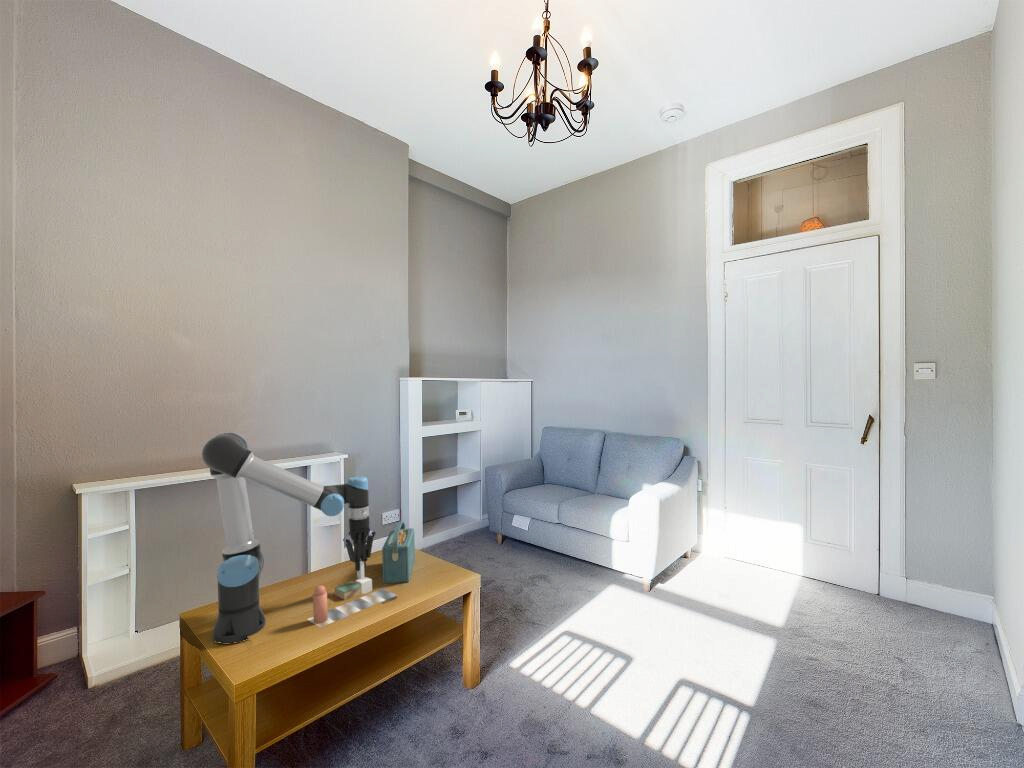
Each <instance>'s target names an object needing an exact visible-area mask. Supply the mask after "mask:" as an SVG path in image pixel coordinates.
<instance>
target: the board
mask: <svg viewBox="0 0 1024 768" xmlns="http://www.w3.org/2000/svg"><path fill="white" fill-rule="evenodd" d="M396 599H398V594H395V593H394V592H391V591H389V590H387V589H385V588H381V589H379V590H376V591H372V592H370V593H367V595H364V596H361V597H359V598H356V599H353V600H351V601H349V602H346V603H344V604H342V605H339V606H336V607H334V608H331V609H329V610H328V609H327V611H328V620H327V621H325V622H323V623H319V624H317V623H314V615H313V616H311V617H309V618H307V620H308V621H309V622H310V623H312V624H313V625H315V626H317V628H322V627H325V626H328V625H329V624H333V623H334V622H337V621H339V620H342V619H344V618H347V617H349V616H351V615H353V614H356V613H358V612H360V611H363V610H365V609H367V608H369V607H372V606H375V605H376V604H382V605H384V604H386V603H389V602H391V601H393V600H396Z"/></svg>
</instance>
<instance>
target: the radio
mask: <svg viewBox="0 0 1024 768" xmlns="http://www.w3.org/2000/svg"><path fill="white" fill-rule="evenodd" d="M415 541H416V540H415V528H413V527H412V528H406V525H405V522H404V521H399V522H397V524H396V526H395V528H393V529H392V528H391V530H390V532H389V533H388V536H387V538H386V539H385V541H384V543H383V546H382V548H381V552H382V553H381V556H382V583H383V584H385V585H386V584H398V583H400V584H401V583H409V582H410V580H411V575H412V572H413V567H414V565H415V564H414V563H415V561H416V551H415V549H416V547H415V546H416V545H415Z"/></svg>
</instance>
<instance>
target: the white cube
mask: <svg viewBox="0 0 1024 768" xmlns="http://www.w3.org/2000/svg"><path fill="white" fill-rule="evenodd" d="M354 583H356V584H358V585H361V590H362V593H361V594H362V595H365V594H369V593H371V592H373V579H372V578H370V577H367V576H364V578H363V579H359V578H357V579H356V580H355V582H354Z"/></svg>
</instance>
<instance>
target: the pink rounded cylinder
mask: <svg viewBox="0 0 1024 768" xmlns="http://www.w3.org/2000/svg"><path fill="white" fill-rule="evenodd" d="M326 589H327V588H326V587H325V586H324V585H318V586H316V587H315V589H314V591H313V594H312V604H313V605H312V606H313V607H312V608H313V611H312V613H313V616H314V623H317V624H319V623H323V622H325V621H327V620H328V592H327V591H326ZM314 623H313V624H314Z"/></svg>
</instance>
